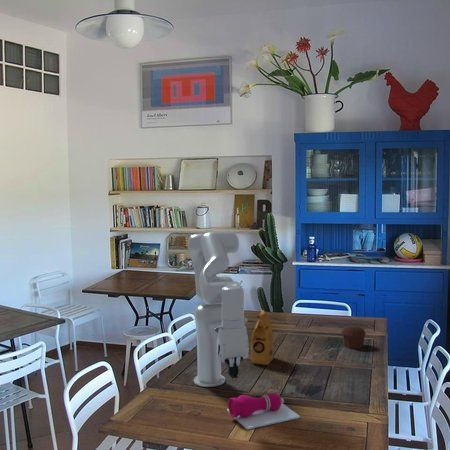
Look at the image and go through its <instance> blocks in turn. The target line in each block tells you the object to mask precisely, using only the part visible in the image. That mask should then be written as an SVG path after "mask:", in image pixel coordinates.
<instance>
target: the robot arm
mask: <svg viewBox="0 0 450 450" xmlns="http://www.w3.org/2000/svg"><path fill="white" fill-rule="evenodd" d="M239 247H240V241H239V238H238V235H237V234H236V233H235V232H234V231H231V230H227V231H226V230H225V231H210V232H207V233H206V232H205V233H196V234H191V235H190V236H189V237H188V240H187V251H188V254H189V258H190V260H191V262H192V264H193V265H192V266H193V269H194V281H195V293H196V296H197V299H198V300H200V301H203V302H204V304H201V305H198V306H197V307H196V308H195V310H194V322H195V323H194V324H195V329H196V344H197V345H196V352H197V353H196V354H197V358H196V359H197V361H196V362H197V375H196V376H195V377H194V378H193V383H194V384H195V385H196V386H199V387H205V388H212V387H213V388H214V387H218V386H221V385H224V383H225V382H226V378H225V376H224V375H222V363H226V365H227V367H228V368H227V371H228V375H229V377H230V378H232V379H238V378H239V377H238V375H239V367H240V365H241V363H242V361H243V360H245V359H247V358H249V337H248V331H247V327H246V326H245V324H246V323H247V322H248V318H247V317H245V296H244V295H245V291H244V288H243V286H242V285H241V283H240V282H238V281H236V280H235V281H234V280H233V278H232V277H230V276H227V275H221V276H217V275H219V274H221V273H223V272H224V271H226V270H227V269H228V268H229V265H230V258H229V256H228V254H235V253H237V252H238V250H239ZM217 328H218V332H217V331H216V330H215V329H217Z"/></svg>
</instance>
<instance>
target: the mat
mask: <svg viewBox="0 0 450 450" xmlns="http://www.w3.org/2000/svg"><path fill="white" fill-rule="evenodd" d="M226 411H227V412H228V413H229V408H226ZM300 417H301V416H300V415H299V414H298V413H296V412H295V411H294V410H292V409H291V408H290V407H289V406H287V405H286V404H284V402H283V403H281V407H280V408H279V409H278V410H276V411H271V410H270V409H269V410H266V411H264V410H258V411H256V412H254V413H253V414H251V415H250V416H248V417H241V416H240V415H239V416H238V417H233V418H234V419H235V420H236V421H237V422H238V423H239V424H240V425H242V427H244V429H246V430H251V429H256V428H260V427H265V426H269V425H273V424H279V423H283V422H287V421H291V420H297V419H300Z"/></svg>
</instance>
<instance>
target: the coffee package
mask: <svg viewBox="0 0 450 450" xmlns="http://www.w3.org/2000/svg"><path fill="white" fill-rule="evenodd" d="M256 318H257V319H258V320H257V322H256V324H255V326H254V328H253V331H252V334H251V340H250V350H251V351H250V354H251V356H250V358H251V363H252V364H256V365H264V366H265V365H266V366H269V365H270V363H271V362H272V361H273V359H274V336H273V328H272V327H273V326H272V323H271V320H270V318H269V317H268V315H267V313H266V312H265V310H264V309H262V310H261V311H260V314H258V315H257V316H256Z"/></svg>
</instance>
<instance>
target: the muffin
mask: <svg viewBox="0 0 450 450" xmlns="http://www.w3.org/2000/svg"><path fill="white" fill-rule="evenodd" d="M340 333H341V335H342V339H343V345H344V347H345V348H347V349H354V350H357V349H358V350H360V349H362V348H363V347H364V344H365V343H364V342H365V336H366V330H365V329H364V328H362V327H361V326H359V325H356V324H350V325H346V326H345V327H343V329H342V330H341V332H340Z"/></svg>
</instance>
